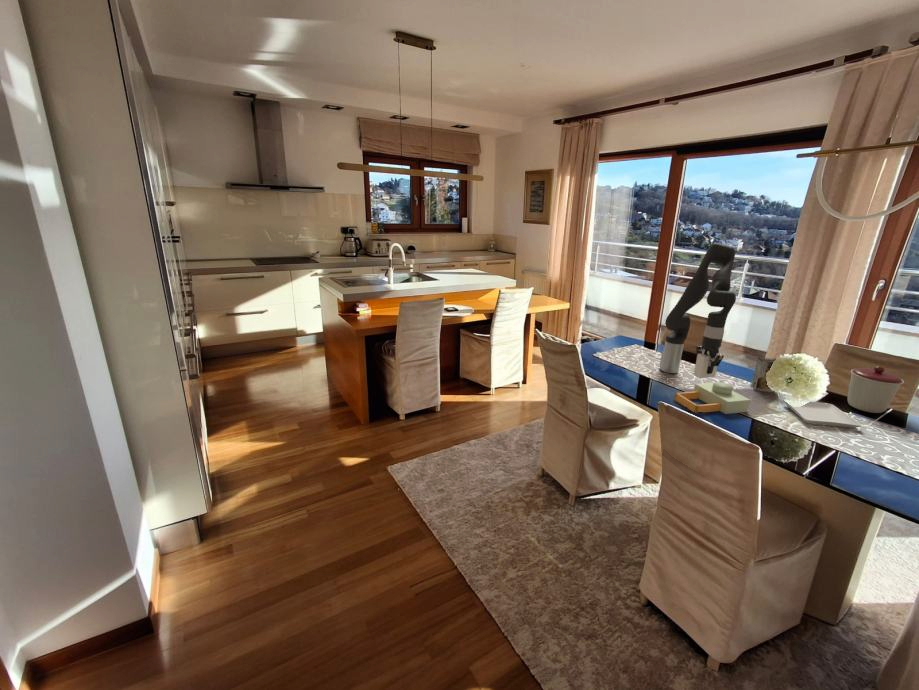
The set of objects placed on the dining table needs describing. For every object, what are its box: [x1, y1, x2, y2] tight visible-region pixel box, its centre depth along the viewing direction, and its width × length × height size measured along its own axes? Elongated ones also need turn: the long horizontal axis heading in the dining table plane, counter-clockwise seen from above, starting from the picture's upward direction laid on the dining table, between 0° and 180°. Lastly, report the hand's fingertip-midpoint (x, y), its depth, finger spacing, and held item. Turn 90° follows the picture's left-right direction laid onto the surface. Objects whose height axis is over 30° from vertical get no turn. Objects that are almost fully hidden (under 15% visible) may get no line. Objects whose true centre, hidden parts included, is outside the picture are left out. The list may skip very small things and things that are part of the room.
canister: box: [847, 365, 905, 414], centre depth 198 cm, size 18×18×21 cm
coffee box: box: [750, 356, 777, 393], centre depth 217 cm, size 9×6×16 cm
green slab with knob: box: [673, 381, 751, 415], centre depth 199 cm, size 20×25×9 cm
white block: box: [693, 354, 718, 379], centre depth 193 cm, size 4×8×10 cm, turn 103°
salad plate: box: [781, 398, 862, 429], centre depth 191 cm, size 21×21×3 cm
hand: (705, 371), depth 194 cm, fingers closed on white block, 4 cm apart
